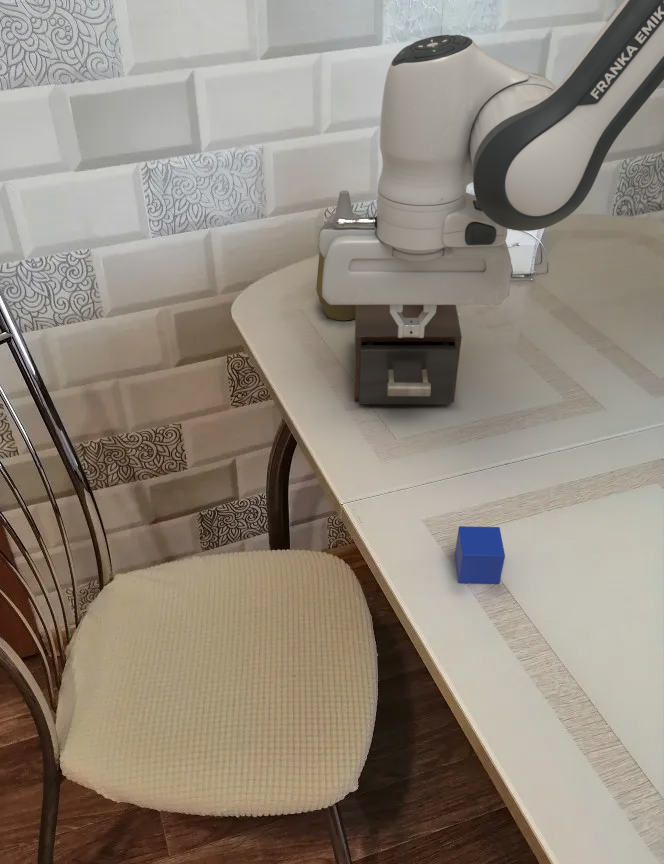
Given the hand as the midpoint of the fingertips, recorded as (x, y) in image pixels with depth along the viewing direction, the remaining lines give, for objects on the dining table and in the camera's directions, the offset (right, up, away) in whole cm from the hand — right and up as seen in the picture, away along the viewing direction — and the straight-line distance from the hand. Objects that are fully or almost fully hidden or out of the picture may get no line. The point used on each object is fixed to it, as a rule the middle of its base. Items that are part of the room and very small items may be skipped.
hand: (410, 335), depth 91 cm
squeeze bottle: (-6, +9, +28) cm, 30 cm away
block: (+5, -26, -11) cm, 28 cm away
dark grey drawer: (+1, -4, +12) cm, 13 cm away
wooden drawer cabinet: (+1, -2, +16) cm, 16 cm away
